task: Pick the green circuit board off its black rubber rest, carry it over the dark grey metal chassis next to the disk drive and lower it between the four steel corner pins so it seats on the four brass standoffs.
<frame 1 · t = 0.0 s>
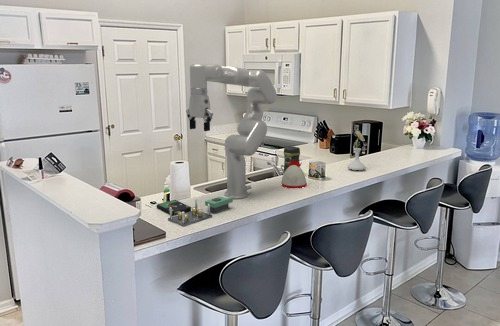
hand: (199, 129, 201), 37 cm above the counter, tool pointing down, fingers open, 9 cm apart
disk drive: (173, 211, 204), on the counter
flower in vase: (356, 169, 283), on the counter
chassis: (190, 218, 192), on the counter
coffee jar: (291, 176, 265), on the counter
rest: (219, 209, 204), on the counter
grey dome: (293, 185, 246), on the counter
board: (219, 203, 203), point 3 cm above the counter, touching rest
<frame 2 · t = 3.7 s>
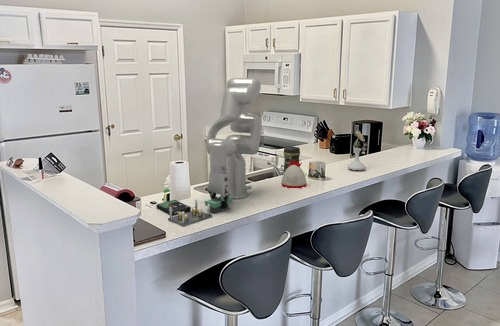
hand: (219, 206, 204), 2 cm above the counter, tool pointing down, fingers closed on board, 6 cm apart
board: (219, 203, 203), point 3 cm above the counter, touching gripper, rest
everything else where it was.
when the fingers open (4 cm above the counter, at t = 8.3 s): board drops 2 cm, resting on chassis.
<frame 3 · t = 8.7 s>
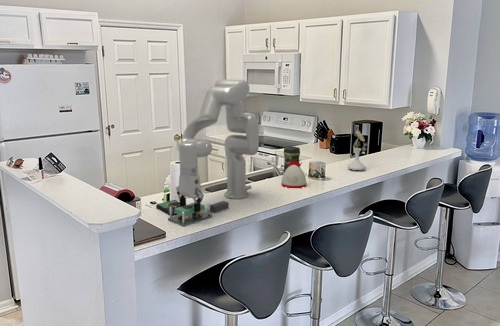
hand: (190, 209, 191), 4 cm above the counter, tool pointing down, fingers open, 9 cm apart
board: (190, 211, 191), point 3 cm above the counter, touching chassis
everything else where it was.
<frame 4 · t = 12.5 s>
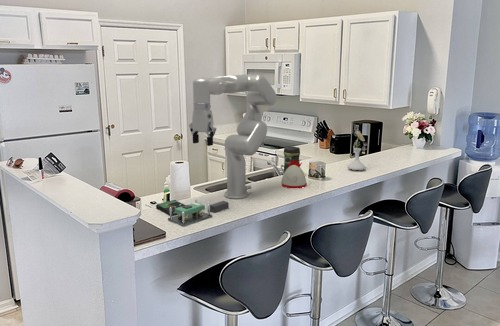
hand: (202, 144, 201), 30 cm above the counter, tool pointing down, fingers open, 9 cm apart
nothing on the counter moved.
at the end: board 0.0 cm off-centre on the chassis, point 3.5 cm above the chassis's base; board tilted 0°; the gripper is holding nothing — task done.
